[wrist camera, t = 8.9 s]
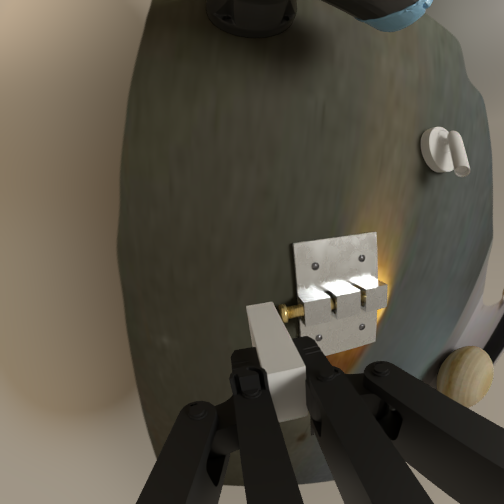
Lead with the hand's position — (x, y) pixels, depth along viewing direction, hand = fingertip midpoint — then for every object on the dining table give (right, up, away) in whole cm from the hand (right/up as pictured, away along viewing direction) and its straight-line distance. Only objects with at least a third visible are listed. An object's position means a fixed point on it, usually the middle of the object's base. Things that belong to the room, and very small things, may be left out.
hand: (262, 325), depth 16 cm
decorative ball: (+47, -23, +35) cm, 63 cm away
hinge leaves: (+13, -3, +27) cm, 30 cm away
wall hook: (+34, +23, +26) cm, 48 cm away
